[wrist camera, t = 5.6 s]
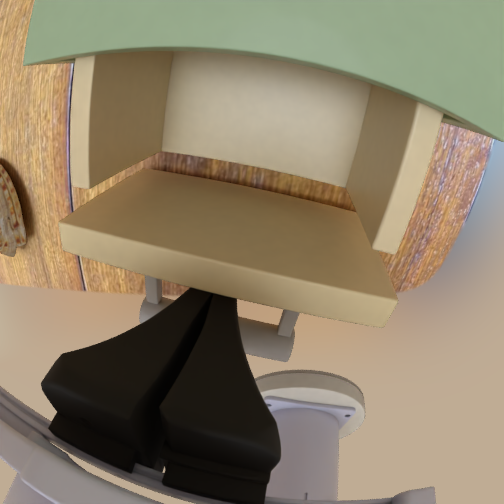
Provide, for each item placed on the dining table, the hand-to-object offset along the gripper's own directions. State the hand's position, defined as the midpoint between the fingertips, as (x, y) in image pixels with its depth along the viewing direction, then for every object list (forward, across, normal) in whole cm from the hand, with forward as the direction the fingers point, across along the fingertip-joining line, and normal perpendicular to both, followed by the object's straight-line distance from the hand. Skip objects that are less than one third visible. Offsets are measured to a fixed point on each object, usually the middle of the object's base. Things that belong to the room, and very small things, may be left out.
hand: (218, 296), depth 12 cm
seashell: (+6, +21, +2) cm, 22 cm away
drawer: (+5, 0, -6) cm, 7 cm away
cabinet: (+6, 0, -15) cm, 16 cm away
